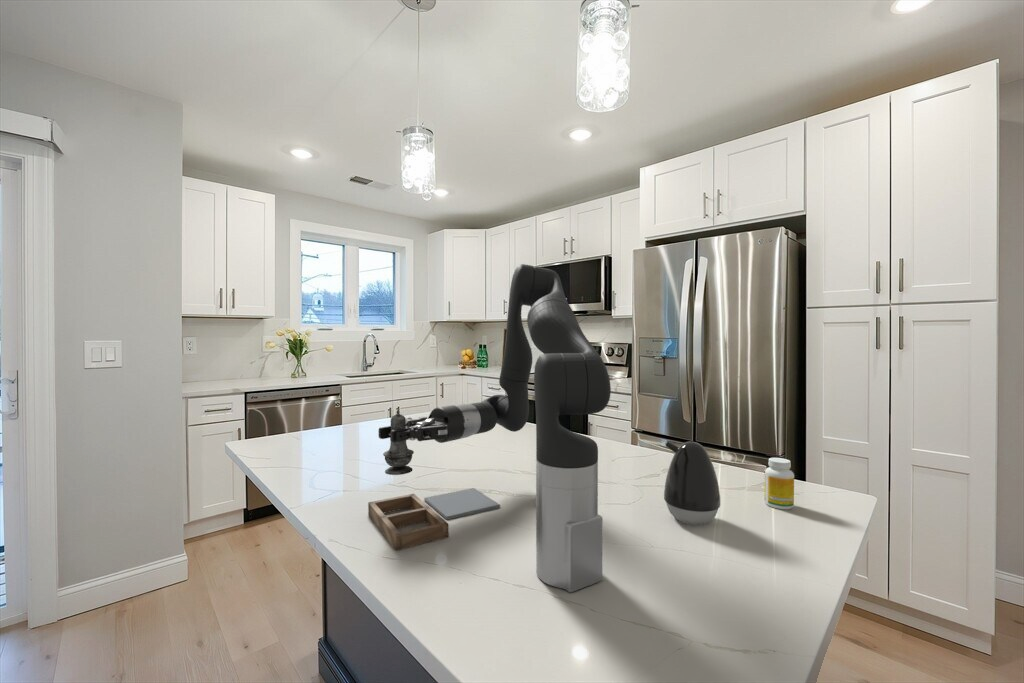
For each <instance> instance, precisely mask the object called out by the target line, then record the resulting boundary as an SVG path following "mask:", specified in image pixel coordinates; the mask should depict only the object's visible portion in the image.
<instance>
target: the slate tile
mask: <svg viewBox="0 0 1024 683" xmlns="http://www.w3.org/2000/svg"><path fill="white" fill-rule="evenodd" d="M424 500H425V501H426V502H425V501H424ZM423 501H424V502H425V503H426V504H427V505H428V506H429V507H430V508H432V507H433V508H432V509H433V510H434V511H435V512H436V513H437V514H438V515H439V516H440V515H441V516H442V518H443V519H444V520H445V521H446V520H450V519H451V518H452V519H456V518H460V517H464V516H469V515H473V514H477V513H480V512H486V511H490V510H494V509H498V508H501V504H500V503H498V502H497V501H495V500H494V499H492V498H490V497H489V496H487V495H486V494H484V493H482V492H481V491H480V490H477V489H476V488H475V487H472V488H467V489H462V490H456V491H452V492H447V493H442V494H435V495H432V496H427V497H424V498H423ZM452 519H451V520H452Z"/></svg>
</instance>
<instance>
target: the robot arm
mask: <svg viewBox="0 0 1024 683" xmlns="http://www.w3.org/2000/svg"><path fill="white" fill-rule="evenodd" d="M560 277H561V276H560V275H559V273H557V271H555V270H553V269H550V268H546V267H542V266H541V267H539V266H535V265H531V264H526V263H523V264H519V265H517V266H516V268H515V270H514V272H513V275H512V277H511V281H510V282H511V283H510V289H509V297H508V298H509V300H508V309H507V319H506V320H507V321H506V332H505V333H506V334H505V346H504V354H503V359H502V364H501V369H500V374H499V381H498V384H499V386H500V387H501V389H502V390H504V392H506V394H507V395H504V394H494V395H492V396H489V397H487V398H485V399H484V400H482V401H480V402H473V403H459V404H452V405H444V406H439V407H435V408H433V409H432V410H431V412H430V414H429V416H421V417H418V418H412V417H405V419H406V428H402V429H397V430H392V431H391V425H387V426H382V427H378V439H380V440H385V439H389V441H390V443H391V442H399V441H404V440H406V441H407V440H409V441H416V440H417V441H418V442H423V441H432V440H434V441H435V442H437V443H439V444H441V443H442V444H443V443H447V442H452V441H458V440H462V439H465V438H469V437H472V436H474V435H478V434H483V433H484V434H485V433H488V432H490V431H492V430H493V429H494V428H495V427H496V425H497V424H498V425H499V426H501V427H502V428H504V429H506V430H508V431H510V432H518V431H521V430H522V429H523V428H524V426H525V425H526V424H527V422H528V419H529V414H530V405H529V402H530V401H529V388H528V386H529V385H528V384H529V380H530V377H531V371H532V366H533V352H532V348H531V345H530V342H529V340H528V336H527V335H526V332H525V329H524V324H523V321H522V311H523V310H522V307H523V306H527V307H530V309H529V310H528V313H527V320H526V322H527V328H528V331H529V335H530V339H531V341H532V343H533V345H534V346H535V347H536V348H537V350H539V351H540V352H541V353H542V354H541V355H539V356H538V357H537V359H536V362H535V365H534V374H533V384H534V387H533V388H534V389H533V390H534V403H535V406H534V407H535V423H536V425H535V426H536V428H535V434H536V435H535V438H536V443H535V444H536V446H535V447H536V453H535V454H536V456H535V462H536V463H535V464H536V465H535V466H536V467H535V468H536V470H535V472H536V474H535V477H536V478H535V480H536V482H535V490H536V491H535V494H536V495H535V499H536V500H535V506H536V507H535V512H536V513H535V514H536V516H535V519H536V520H535V522H536V524H535V526H536V527H535V529H536V532H535V533H536V534H535V536H536V537H535V539H536V540H535V547H536V549H535V550H536V560H535V561H536V565H535V566H536V576H537V577H538V578H539V579H540V581H542V582H543V583H545V584H547V585H549V586H552V587H555V588H559V589H563V590H566V591H567V592H569V593H573V592H575V591H578V590H581V589H583V588H587V587H589V586H592V585H594V584H596V583H599V582H602V581H603V516H602V515H600V514H599V507H598V506H599V505H598V502H599V498H598V497H599V493H598V492H599V488H598V483H599V482H598V481H599V469H598V468H599V464H598V463H599V449H598V448H599V447H598V443H597V442H596V441H595V440H594V439H592V438H591V437H589V436H586V435H583V434H580V433H577V432H575V431H572V430H569V429H568V428H566V427H565V426H563V425H562V424H561V423H560V419H559V416H560V415H561V416H567V415H569V416H573V415H575V416H578V415H579V416H580V415H592V414H593V415H594V414H597V413H600V412H603V411H604V410H605V408H607V406H608V405H609V402H610V399H611V394H612V393H611V392H612V391H611V390H612V389H611V388H612V387H611V380H610V376H609V372H608V369H607V366H606V364H605V362H604V360H603V359H602V356H601V355H600V354H599V353H598V351H597V350H596V349H595V348H594V346H593V345H592V343H591V342H590V341H589V339H588V338H587V337H586V335H585V334H584V332H583V330H582V328H581V326H580V324H579V322H578V320H577V317H576V315H575V313H574V311H573V309H572V307H571V306H570V304H569V302H568V299H567V298H566V295H565V293H564V288H563V284H562V281H561V278H560ZM389 433H390V435H389Z"/></svg>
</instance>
